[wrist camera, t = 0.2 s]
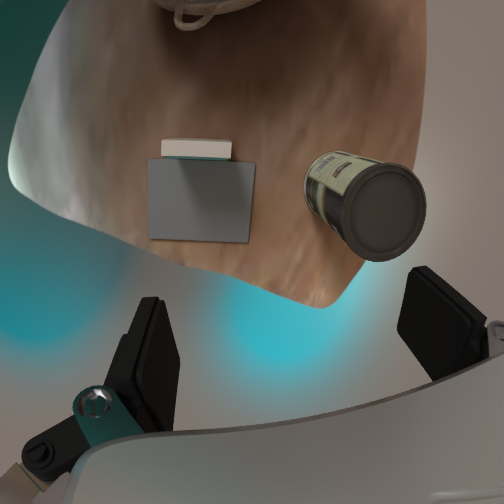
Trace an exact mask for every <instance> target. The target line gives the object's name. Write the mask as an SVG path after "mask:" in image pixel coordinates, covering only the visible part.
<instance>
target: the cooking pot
mask: <svg viewBox="0 0 504 504" xmlns="http://www.w3.org/2000/svg"><path fill="white" fill-rule="evenodd" d="M149 1H151V2H152V3H154V4H155V5H157V6H159V7H162V8H164V9H166V10H169V11H173V12H175V13H174V23H175V26H176V27H177V28H178V29H180V30H183V31H192V30H196V29H199V28H201V27H202V26H204V25H205V24H207V23H208V22H209V21H210V20H211V18H212V17H213V16H214V15H217V14H225V13H229V12H234V11H238V10H240V9H243V8H246V7H249V6H251V5H253V4H255V3H257V2H259V1H261V0H149ZM183 14H189V15H204V16H203V17H202V18H201V19H200V20H198V21H197V22H194V23H183V21H182V16H183Z"/></svg>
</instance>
